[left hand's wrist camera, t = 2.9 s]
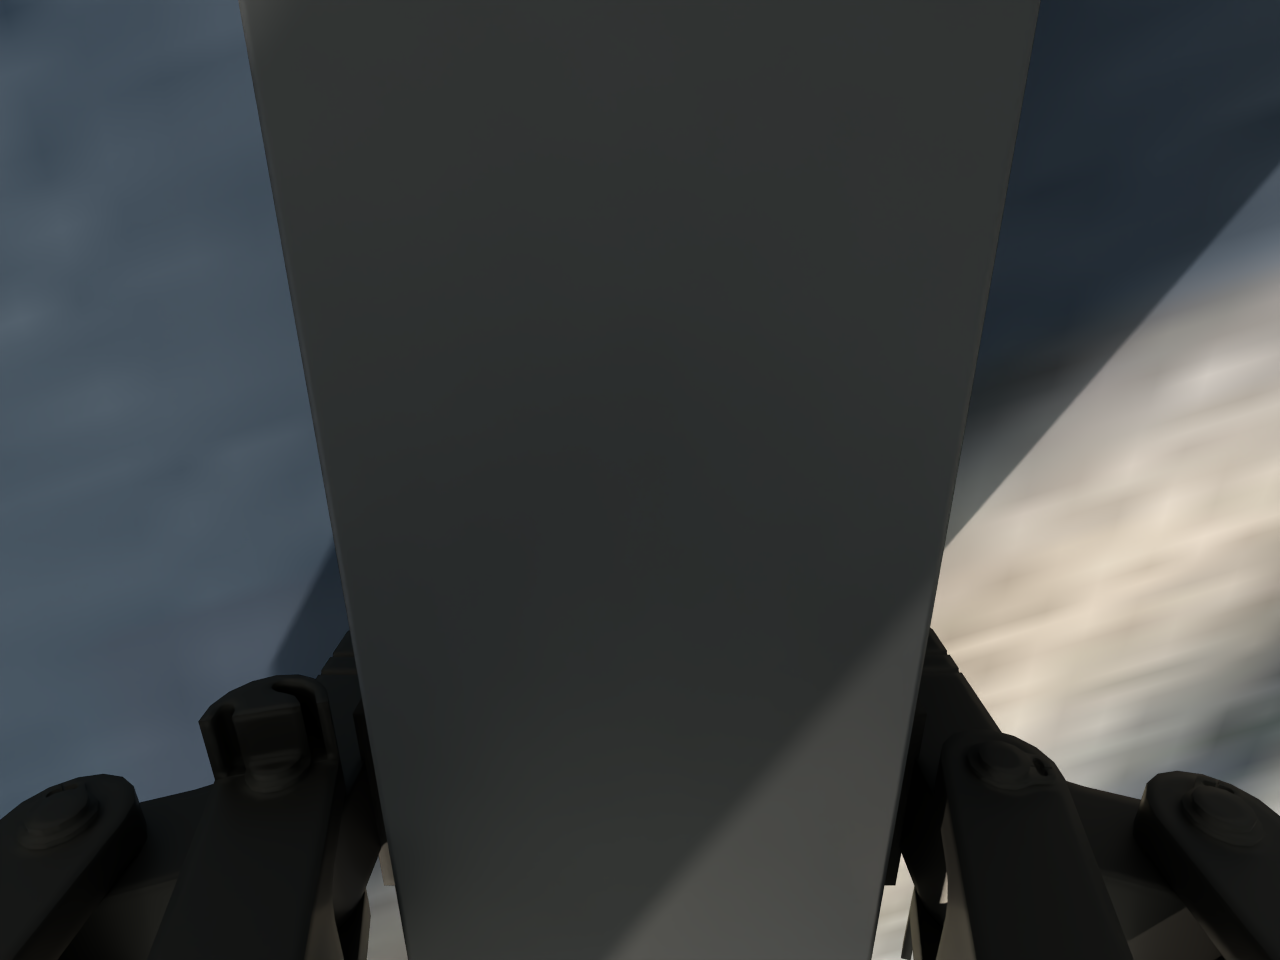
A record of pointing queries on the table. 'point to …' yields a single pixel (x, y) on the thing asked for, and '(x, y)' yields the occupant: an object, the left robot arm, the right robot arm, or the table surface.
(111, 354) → the table surface
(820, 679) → the beam
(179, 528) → the table surface
